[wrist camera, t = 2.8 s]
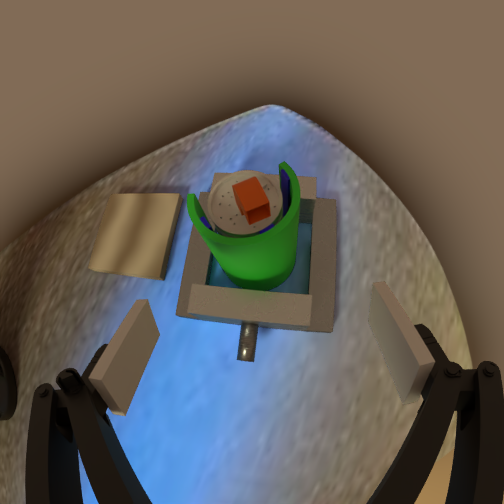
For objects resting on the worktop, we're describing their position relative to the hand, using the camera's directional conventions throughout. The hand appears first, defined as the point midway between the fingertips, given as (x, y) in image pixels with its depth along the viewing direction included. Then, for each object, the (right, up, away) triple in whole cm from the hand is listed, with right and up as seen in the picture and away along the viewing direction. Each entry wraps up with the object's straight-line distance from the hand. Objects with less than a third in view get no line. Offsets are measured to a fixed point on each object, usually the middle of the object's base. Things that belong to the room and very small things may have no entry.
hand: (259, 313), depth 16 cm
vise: (0, +1, +19) cm, 19 cm away
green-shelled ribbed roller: (+1, +3, +19) cm, 20 cm away
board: (-17, +6, +22) cm, 29 cm away
